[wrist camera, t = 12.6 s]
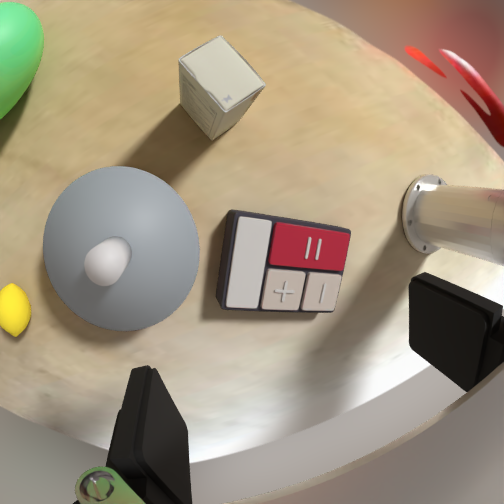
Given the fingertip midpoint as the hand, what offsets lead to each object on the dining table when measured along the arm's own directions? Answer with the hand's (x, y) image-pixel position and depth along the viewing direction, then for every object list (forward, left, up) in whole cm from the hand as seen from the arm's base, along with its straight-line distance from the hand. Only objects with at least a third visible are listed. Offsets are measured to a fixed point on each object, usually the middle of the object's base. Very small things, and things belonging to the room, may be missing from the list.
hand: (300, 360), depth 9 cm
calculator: (-7, +5, -27) cm, 28 cm away
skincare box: (-3, -15, -27) cm, 30 cm away
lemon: (+28, 0, -27) cm, 38 cm away
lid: (+10, -3, -20) cm, 23 cm away
